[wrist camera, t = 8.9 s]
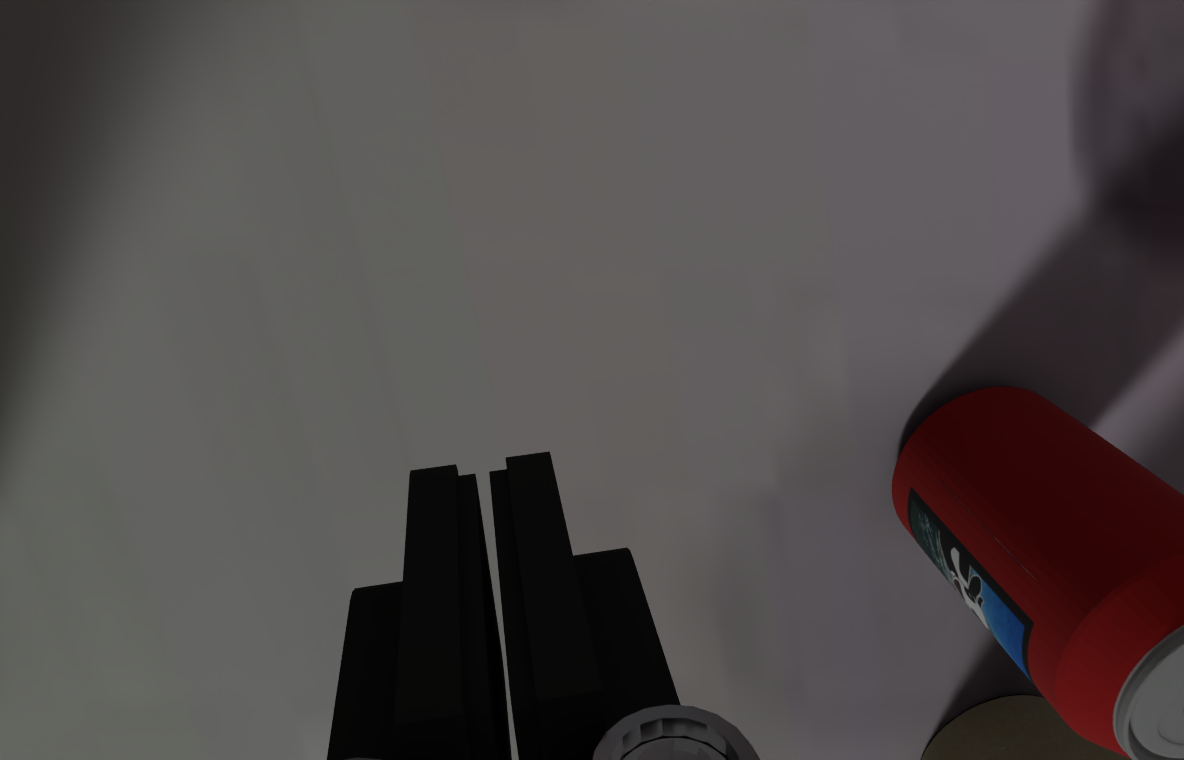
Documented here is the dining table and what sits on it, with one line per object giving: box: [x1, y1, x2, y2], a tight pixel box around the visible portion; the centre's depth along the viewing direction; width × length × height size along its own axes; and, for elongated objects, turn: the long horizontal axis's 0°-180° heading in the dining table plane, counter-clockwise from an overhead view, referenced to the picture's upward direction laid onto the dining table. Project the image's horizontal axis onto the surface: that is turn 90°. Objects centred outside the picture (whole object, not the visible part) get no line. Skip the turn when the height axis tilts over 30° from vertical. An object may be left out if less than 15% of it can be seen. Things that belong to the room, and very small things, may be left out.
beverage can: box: [892, 386, 1184, 760], centre depth 27 cm, size 7×7×12 cm
